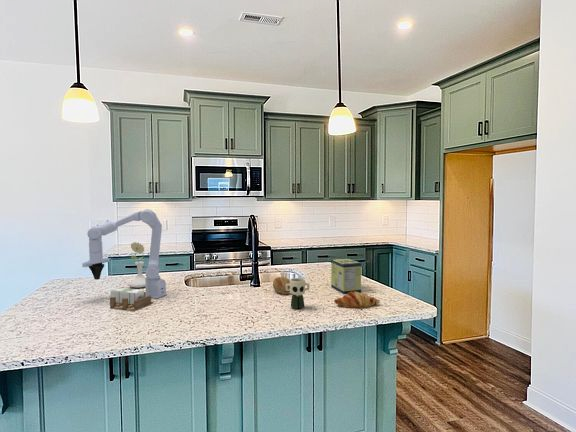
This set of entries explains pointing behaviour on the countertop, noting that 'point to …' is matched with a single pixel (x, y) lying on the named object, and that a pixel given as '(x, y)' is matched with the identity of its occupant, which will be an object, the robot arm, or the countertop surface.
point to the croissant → (356, 300)
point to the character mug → (297, 291)
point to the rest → (137, 304)
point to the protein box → (345, 275)
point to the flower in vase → (138, 267)
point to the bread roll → (281, 285)
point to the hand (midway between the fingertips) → (97, 279)
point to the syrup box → (127, 294)
